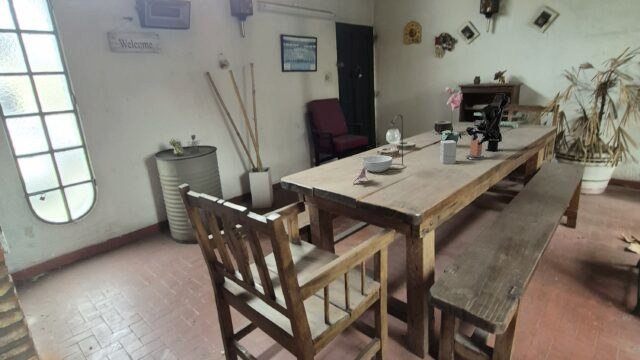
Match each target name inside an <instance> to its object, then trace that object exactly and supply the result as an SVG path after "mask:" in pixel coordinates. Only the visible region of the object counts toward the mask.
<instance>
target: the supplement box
mask: <svg viewBox="0 0 640 360" xmlns="http://www.w3.org/2000/svg"><path fill="white" fill-rule="evenodd" d="M439 148H440V149H439V150H440V151H439V162H440V163H441V164H442V165H451V164H456V160H457V142H456V141H455V140H453V139H452V140H451V139H450V140H440V146H439Z"/></svg>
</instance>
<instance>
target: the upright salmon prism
mask: <svg viewBox="0 0 640 360" xmlns="http://www.w3.org/2000/svg"><path fill="white" fill-rule="evenodd" d="M480 140H481V139H476V140H472V141H471V140H470V146H469V147H470V149H469V155H475V156H478V155H481V156H482V153H483V152H482V151H483V149H482V148H483V143H482V144H480V145H478V143H479V141H480Z"/></svg>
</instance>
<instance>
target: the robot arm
mask: <svg viewBox="0 0 640 360" xmlns="http://www.w3.org/2000/svg"><path fill="white" fill-rule="evenodd" d="M510 102H511V99H510V96H509V95H507V94H506V93H500V92H498V93H496V94H495V95H494V99H493V100H492V103H489V104H487V105H486V106H484V107H483V108H482V113H483V117H484V118H483V120H481V119H479V120H478V119H475V121H474V127H471V126H468V127H466V129H465V131H466V133H467V134H468V135H469V136H471V139H470V142H471V141H472V140H478V138H479V136H478V135H482V136H481V138H480V139H479V140H480V141H479V143H478V145H480V144H482V145H483V143H485V142H487V148H486V149H485V151H487V152H492V153H494V152H498V151H500V150H501V149H500V148H499V143H501V142H502V141H503V136H502V135H503V134H502V132H501V128H500V126H501V122H502V118H503V115H504V111H505V110H506V109H507V108H508V105H509V104H510ZM475 127H476V129H475Z"/></svg>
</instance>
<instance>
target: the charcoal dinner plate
mask: <svg viewBox="0 0 640 360" xmlns="http://www.w3.org/2000/svg"><path fill="white" fill-rule="evenodd" d="M465 158H466V160H470V161H483V159H484V160H485V156H484V155H482V154H481V155H478V156H475V155H470V154H468V155H466V157H465Z"/></svg>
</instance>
